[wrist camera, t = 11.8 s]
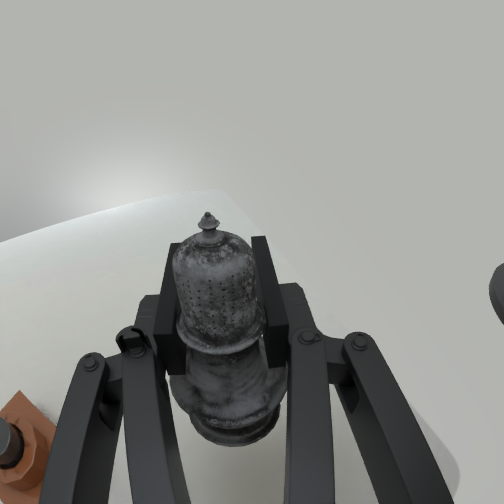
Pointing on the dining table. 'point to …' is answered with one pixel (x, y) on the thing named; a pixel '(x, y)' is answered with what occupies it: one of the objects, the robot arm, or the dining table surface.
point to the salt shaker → (223, 340)
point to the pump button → (10, 445)
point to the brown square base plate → (26, 452)
